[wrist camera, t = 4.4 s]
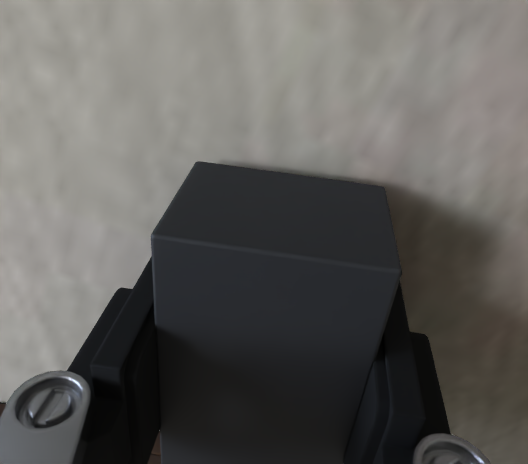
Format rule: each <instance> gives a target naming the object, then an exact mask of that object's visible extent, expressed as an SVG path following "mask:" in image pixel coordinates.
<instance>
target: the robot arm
mask: <svg viewBox="0 0 528 464" xmlns="http://www.w3.org/2000/svg"><path fill="white" fill-rule="evenodd" d="M159 430H160V420H159V397H158V375H157V353H156V331H155V315H154V293H153V271H152V257H151V258H150V260H149V262H148V264H147V265H146V267H145V269H144V271H143V272H142V274H141V276H140V278H139V279H138V281H137V283H136V285H135V286H134V288H133V289H127V288H120V289H118V290H117V291H116V293H115V294H114V296H113V297H112V299H111V300H110V302H109V304H108V305H107V307H106V308H105V310H104V312H103V313H102V315H101V317H100V318H99V320H98V321H97V323H96V325H95V326H94V328H93V330H92V331H91V333H90V334H89V336H88V338H87V339H86V341H85V343H84V344H83V346H82V347H81V349H80V351H79V352H78V354H77V355H76V357H75V359H74V360H73V362H72V364H71V365H70V367H69V368H68V370H67V371H61V370H60V371H51V372H46V373H43V374H40V375H37V376H35V377H33V378H31V379H29V380H28V381H26V382H24V383H23V384H22V385H21V386H20V387H19V388H17V389H16V390H15V391H14V393H13V394H12V396H11V397H10V399H9V400H8V402H7V404H6V406H5V409H4V411H3V413H2V415H1V416H0V464H147V463H148V461H149V458H150V455H151V452H152V449H153V447H154V444H155V441H156V438H157V435H158V433H159ZM344 464H491V463H490V461H489V460H488V459H487V458H486V457H485V455H484V454H483V453H482V452H481V451H480V450H479V449H478V448H476V447H475V446H473V445H472V444H471V443H469V442H468V441H466V440H464V439H461V438H459V437H457V436H454V435H451V432H450V428H449V424H448V420H447V415H446V411H445V407H444V403H443V398H442V394H441V390H440V385H439V381H438V377H437V373H436V368H435V364H434V360H433V355H432V351H431V347H430V343H429V340H428V337H427V336H426V335H425V334H421V333H414V332H410V331H409V326H408V321H407V316H406V310H405V305H404V300H403V295H402V289H401V284H400V281H399V284H398V288H397V291H396V294H395V297H394V301H393V304H392V307H391V310H390V314H389V317H388V320H387V323H386V327H385V330H384V333H383V336H382V340H381V343H380V346H379V349H378V353H377V356H376V359H375V361H374V362H373V366H372V369H371V372H370V375H369V379H368V382H367V385H366V389H365V392H364V395H363V398H362V402H361V405H360V408H359V411H358V415H357V418H356V421H355V424H354V428H353V431H352V434H351V438H350V441H349V444H348V447H347V451H346V454H345V457H344Z"/></svg>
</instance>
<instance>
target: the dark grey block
mask: <svg viewBox="0 0 528 464" xmlns="http://www.w3.org/2000/svg"><path fill="white" fill-rule="evenodd" d="M151 249H152V271H153V293H154V315H155V331H156V353H157V375H158V397H159V420H160V446H161V464H343V463H344V457H345V454H346V451H347V447H348V444H349V441H350V438H351V434H352V431H353V428H354V424H355V421H356V418H357V415H358V411H359V408H360V405H361V402H362V398H363V395H364V392H365V389H366V385H367V382H368V379H369V375H370V372H371V369H372V366H373V362H374V361H375V359H376V356H377V353H378V349H379V346H380V343H381V340H382V336H383V333H384V330H385V327H386V323H387V320H388V317H389V314H390V310H391V307H392V304H393V301H394V297H395V294H396V291H397V288H398V284H399V281H400V278H401V275H402V269H401V264H400V259H399V255H398V250H397V245H396V240H395V235H394V230H393V225H392V220H391V215H390V210H389V205H388V200H387V196H386V191H385V188H384V187H383V186H376V185H369V184H362V183H354V182H347V181H340V180H332V179H325V178H318V177H310V176H303V175H295V174H288V173H281V172H273V171H266V170H259V169H251V168H244V167H237V166H229V165H222V164H214V163H207V162H200V161H199V162H196V163H195V165H194V166H193V168H192V169H191V171H190V173H189V174H188V176H187V178H186V179H185V181H184V182H183V184H182V186H181V187H180V189H179V190H178V192H177V194H176V195H175V197H174V199H173V200H172V202H171V203H170V205H169V207H168V208H167V210H166V212H165V213H164V215H163V216H162V218H161V220H160V221H159V223H158V225H157V226H156V228H155V229H154V231H153V233H152V235H151Z"/></svg>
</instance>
